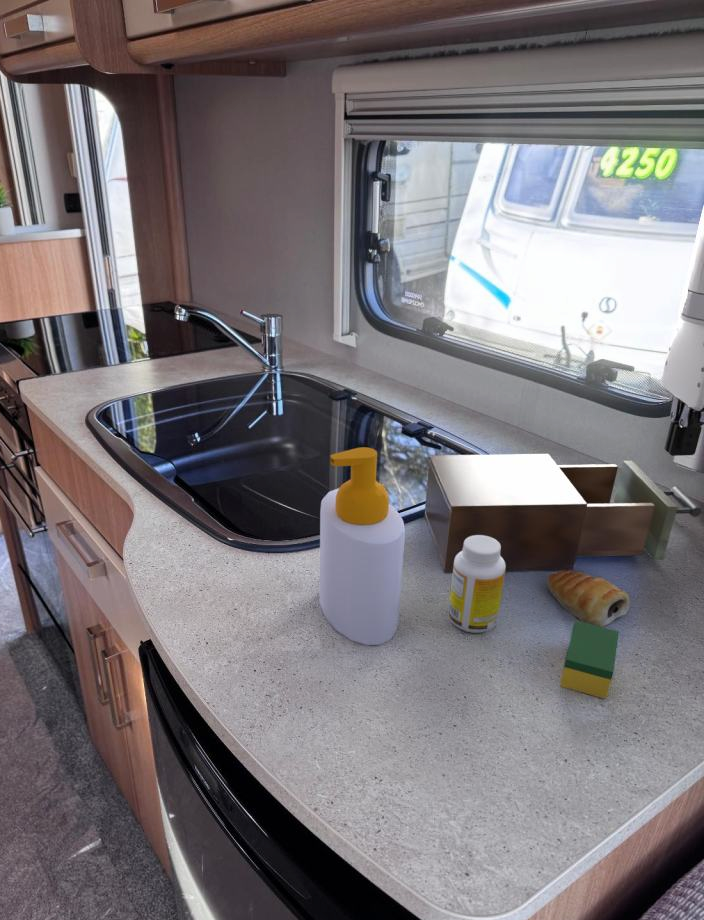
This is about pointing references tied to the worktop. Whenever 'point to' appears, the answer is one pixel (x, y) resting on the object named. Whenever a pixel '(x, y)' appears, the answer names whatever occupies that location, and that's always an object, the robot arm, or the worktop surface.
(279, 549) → the worktop surface
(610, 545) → the drawer
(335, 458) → the soap bottle
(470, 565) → the supplement bottle
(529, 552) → the cabinet
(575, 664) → the sponge
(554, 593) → the pastry
